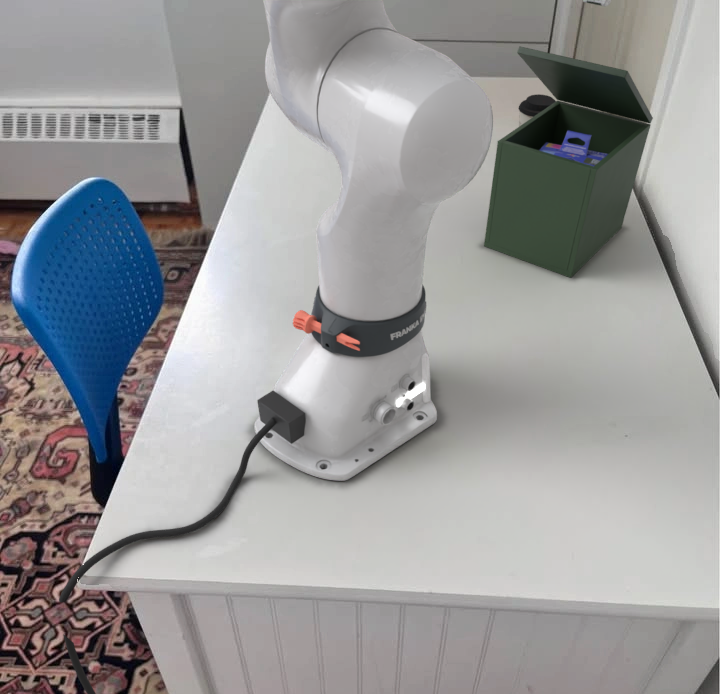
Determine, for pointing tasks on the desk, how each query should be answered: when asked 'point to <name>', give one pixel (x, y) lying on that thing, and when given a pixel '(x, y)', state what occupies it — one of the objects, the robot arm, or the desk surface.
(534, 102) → the black capped white jar
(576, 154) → the ink cartridge box
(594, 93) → the bin lid
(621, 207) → the bin
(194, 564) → the desk surface
